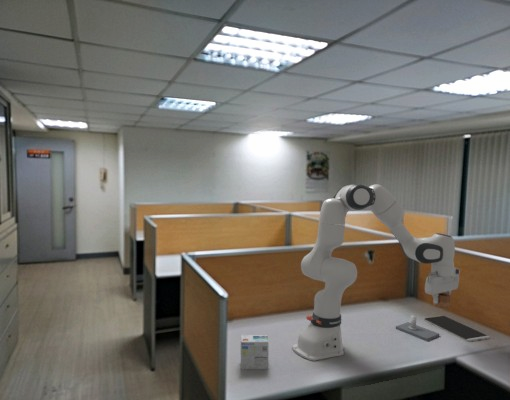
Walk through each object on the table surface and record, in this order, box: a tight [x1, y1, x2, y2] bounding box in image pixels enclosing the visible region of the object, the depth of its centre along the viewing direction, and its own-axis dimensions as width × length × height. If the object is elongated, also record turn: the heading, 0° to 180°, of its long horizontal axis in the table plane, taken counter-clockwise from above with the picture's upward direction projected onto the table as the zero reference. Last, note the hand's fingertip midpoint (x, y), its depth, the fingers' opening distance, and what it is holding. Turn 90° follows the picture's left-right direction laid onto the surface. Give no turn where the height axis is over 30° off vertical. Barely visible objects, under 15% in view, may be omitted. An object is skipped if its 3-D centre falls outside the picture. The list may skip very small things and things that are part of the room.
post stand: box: [395, 314, 440, 342], centre depth 168 cm, size 10×16×7 cm, turn 33°
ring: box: [432, 292, 451, 309], centre depth 155 cm, size 6×6×5 cm
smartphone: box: [423, 315, 491, 343], centre depth 173 cm, size 13×27×2 cm, turn 17°
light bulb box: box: [240, 334, 269, 370], centre depth 136 cm, size 11×7×11 cm, turn 92°
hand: (441, 301), depth 155 cm, fingers closed on ring, 6 cm apart
